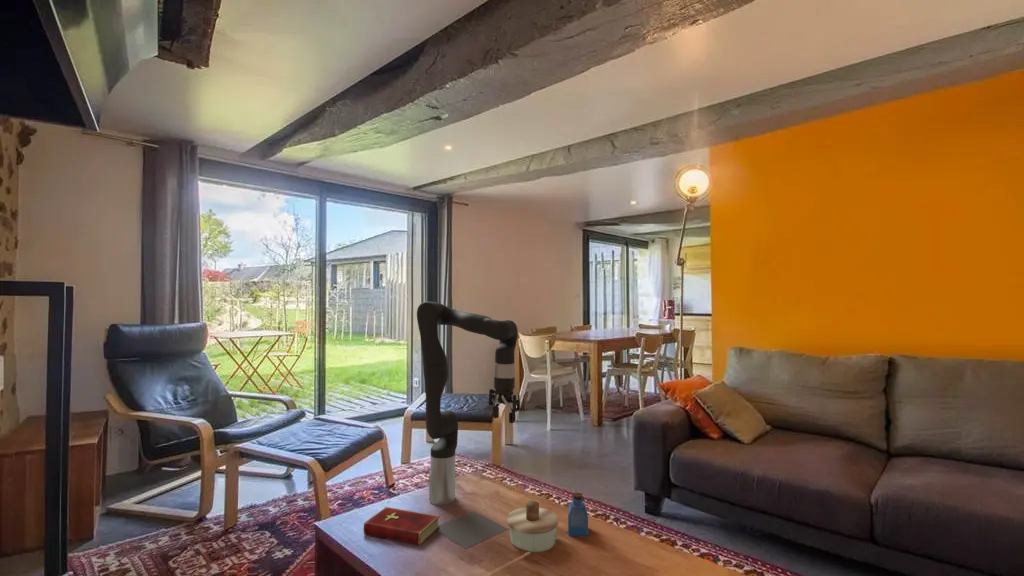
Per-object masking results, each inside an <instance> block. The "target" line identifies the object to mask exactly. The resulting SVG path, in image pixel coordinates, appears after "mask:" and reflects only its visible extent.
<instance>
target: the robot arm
mask: <svg viewBox="0 0 1024 576" xmlns="http://www.w3.org/2000/svg"><path fill="white" fill-rule="evenodd" d="M416 319H417V327H418V332H419V335H420V343H421V345H420V346H421V355H422V369H423V378H424V388H425V389H424V390H425V428H426V432H427V435H428V437H429V438H431V439H432V440H437V442H436V443H434V444H433V445H432V446H431V448H430V473H429V474H428V475H429V478H428V479H429V481H428V482H429V484H428V485H429V486H428V488H429V489H428V490H429V492H428V496H429V498H428V499H429V500H430V501H429V502H430V503H431V504H432V505H435V506H436V505H440V506H441V505H448V504H452V503H453V502H454V501H456V450H457V448H458V447H457V446H458V434H459V422H458V417H457V414H456V413H455V412H453V410H443V411H441V401H442V400H441V399H442V395H443V393H444V390H445V388H446V385H447V383H448V380H449V366H448V357H447V355H446V352H445V350H444V348H443V347H442V346H443V345H441V342H440V340H439V334H438V326H439V325H440V326H441V325H442V326H452V327H457V328H460V329H462V330H464V331H467V332H469V333H474V334H479V335H481V336H482V335H483V336H486V337H488V338H491V339H494V340H497V341H499V345H498V346H497V347H496V349H495V353H494V355H495V356H494V367H493V368H494V370H493V371H494V372H493V388H490V389H489V392H488V393H489V394H488V405H489V406H491V407H492V418H493V419H499V415H500V406H501V404H502V405H504V406H505V407H506V408H507V409H508V423H509V424H514V423H515V421H516V412H520V411H521V398H520V397H521V395H520V394H519V393H516V394H515V393H514V389H516V388H515V387H516V386H515V382H516V381H515V379H516V367H515V349H516V345H517V341H518V333H519V332H518V326H517V324H516V323H515V322H514V321H513V320H510V319H509V320H508V319H507V320H506V319H505V320H498V319H495V318H494V319H493V318H491V317H490V316H487V315H483V314H482V315H481V314H479V313H472V312H467V311H463V310H462V311H461V310H457V309H454V308H451V307H449V306H447V305H445V304H443V303H440V302H438V301H437V302H436V301H422V302H421V303H420V304H419V305H418V307H417V310H416Z"/></svg>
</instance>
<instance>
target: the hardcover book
mask: <svg viewBox="0 0 1024 576" xmlns="http://www.w3.org/2000/svg"><path fill="white" fill-rule="evenodd" d="M439 518H440V515H435V514H429V513H424V512H417V511H413V510H412V511H411V510H407V509H401V508H394V507H389V506H386V507H384V508H383V509H381V510H379V511H378V512H377V513H375V514H374V515H373V516H372V517H370V518H369V519H368V520H367V519H366V521H365V522H363V535H364V536H369V537H374V538H378V539H383V540H392V541H396V542H401V543H406V544H411V545H413V546H414V545H415V546H420V547H421V546H422V545H423V544H424V543H425V542H426V541H428V540H429V539H430V538H431V537H432V536H433V535H435V533H437V530H438V529H439V528H440V527H438V525H439Z"/></svg>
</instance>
